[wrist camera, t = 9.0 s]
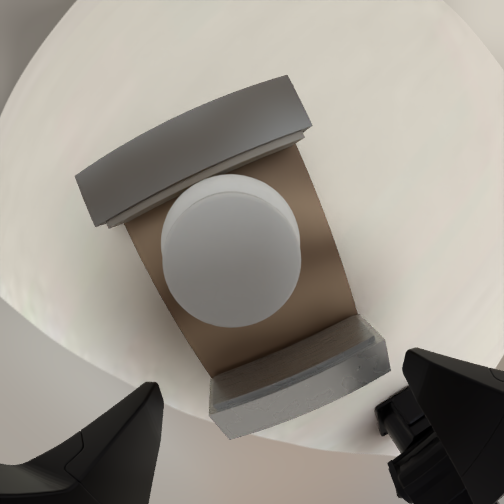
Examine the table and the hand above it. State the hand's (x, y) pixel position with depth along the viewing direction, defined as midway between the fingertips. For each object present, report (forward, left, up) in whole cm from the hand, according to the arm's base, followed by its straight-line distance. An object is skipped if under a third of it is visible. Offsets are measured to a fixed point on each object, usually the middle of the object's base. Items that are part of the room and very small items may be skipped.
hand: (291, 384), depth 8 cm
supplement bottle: (+5, 0, -10) cm, 11 cm away
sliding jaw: (-6, 0, -10) cm, 12 cm away
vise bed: (+1, 0, -12) cm, 12 cm away
